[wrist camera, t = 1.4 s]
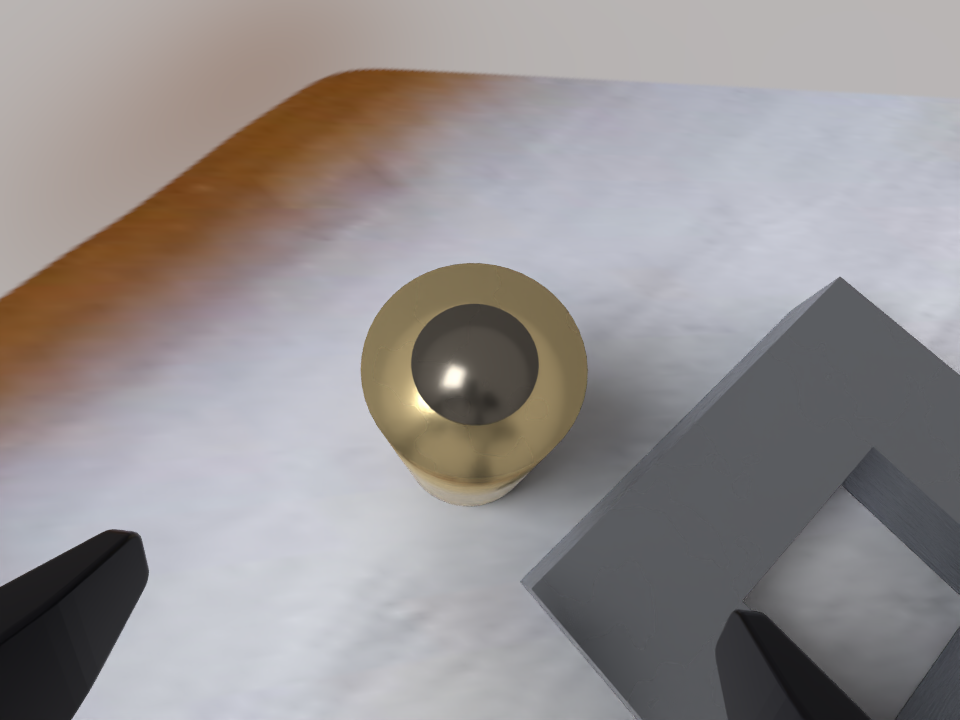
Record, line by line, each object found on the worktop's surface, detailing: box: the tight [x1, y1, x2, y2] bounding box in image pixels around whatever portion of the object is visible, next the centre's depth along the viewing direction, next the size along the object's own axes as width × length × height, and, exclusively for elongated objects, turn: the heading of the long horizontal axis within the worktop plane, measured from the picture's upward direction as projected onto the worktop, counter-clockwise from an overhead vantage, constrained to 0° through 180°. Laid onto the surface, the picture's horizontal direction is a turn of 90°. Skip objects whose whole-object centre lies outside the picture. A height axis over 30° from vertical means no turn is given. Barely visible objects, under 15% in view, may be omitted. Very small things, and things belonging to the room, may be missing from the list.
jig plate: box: [520, 277, 960, 720], centre depth 17 cm, size 16×16×3 cm
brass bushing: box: [361, 263, 588, 506], centre depth 16 cm, size 5×5×9 cm
